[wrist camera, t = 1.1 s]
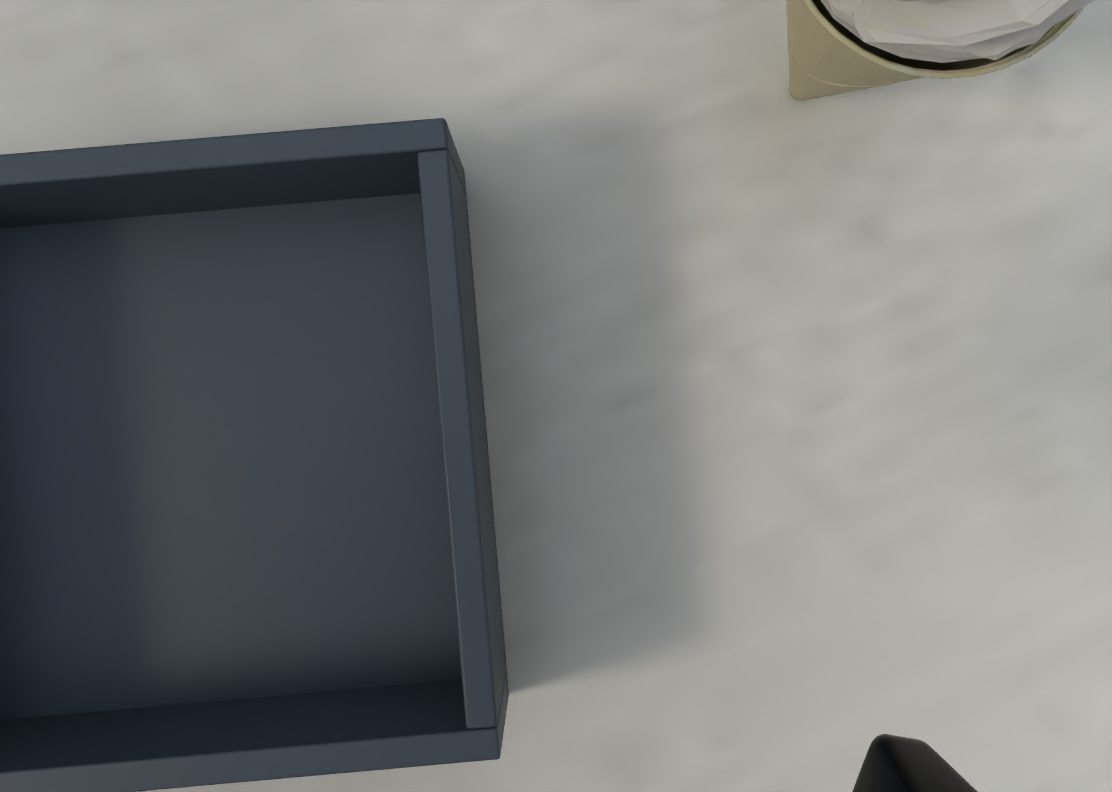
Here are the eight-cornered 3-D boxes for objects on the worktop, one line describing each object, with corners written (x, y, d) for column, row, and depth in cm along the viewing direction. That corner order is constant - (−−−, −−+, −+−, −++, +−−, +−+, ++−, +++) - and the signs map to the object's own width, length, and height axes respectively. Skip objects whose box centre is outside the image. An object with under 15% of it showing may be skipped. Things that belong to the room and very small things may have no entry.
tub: (509, 694, 22) (500, 759, 18) (-21, 741, 22) (-150, 818, 18) (464, 169, 22) (445, 116, 18) (-64, 213, 22) (-201, 170, 18)
